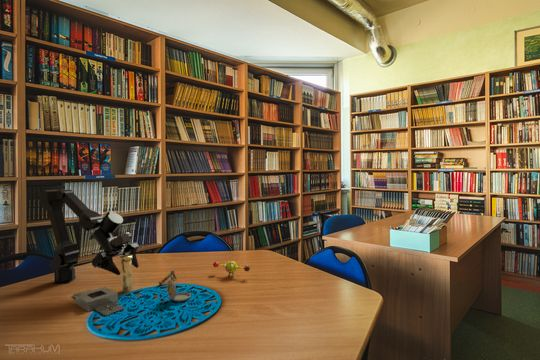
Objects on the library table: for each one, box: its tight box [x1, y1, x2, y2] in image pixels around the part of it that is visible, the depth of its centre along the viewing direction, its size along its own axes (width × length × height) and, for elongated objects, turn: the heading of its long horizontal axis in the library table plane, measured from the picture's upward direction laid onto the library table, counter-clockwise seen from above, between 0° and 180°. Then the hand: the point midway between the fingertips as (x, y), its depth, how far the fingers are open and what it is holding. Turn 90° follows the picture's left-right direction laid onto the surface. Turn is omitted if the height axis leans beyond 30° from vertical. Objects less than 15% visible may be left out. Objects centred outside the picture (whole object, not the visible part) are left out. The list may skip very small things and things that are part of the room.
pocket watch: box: [166, 275, 192, 302], centre depth 112 cm, size 8×8×10 cm
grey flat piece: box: [72, 286, 125, 317], centre depth 110 cm, size 26×10×3 cm, turn 52°
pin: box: [119, 254, 133, 293], centre depth 120 cm, size 4×4×14 cm
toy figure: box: [212, 260, 251, 278], centre depth 136 cm, size 18×6×7 cm, turn 68°
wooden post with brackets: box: [158, 269, 177, 286], centre depth 129 cm, size 2×8×4 cm, turn 145°
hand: (129, 270), depth 120 cm, fingers open, 9 cm apart
